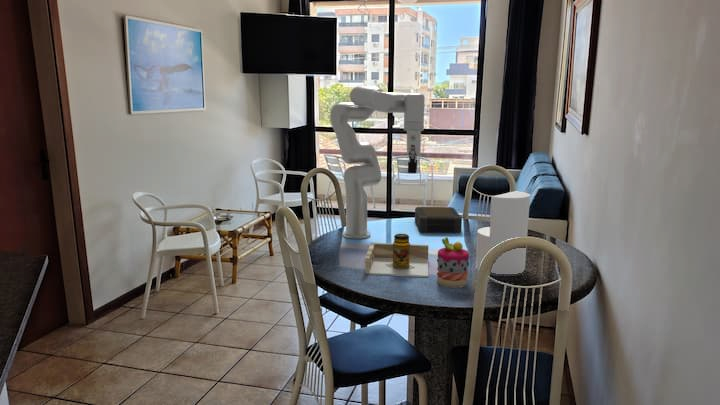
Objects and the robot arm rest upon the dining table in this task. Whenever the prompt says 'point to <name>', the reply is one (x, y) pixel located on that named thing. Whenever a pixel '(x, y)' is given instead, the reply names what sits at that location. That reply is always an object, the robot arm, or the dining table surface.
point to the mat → (417, 271)
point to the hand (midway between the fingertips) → (412, 171)
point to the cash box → (437, 220)
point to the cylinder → (505, 231)
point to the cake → (452, 265)
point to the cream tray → (387, 252)
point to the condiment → (401, 252)
